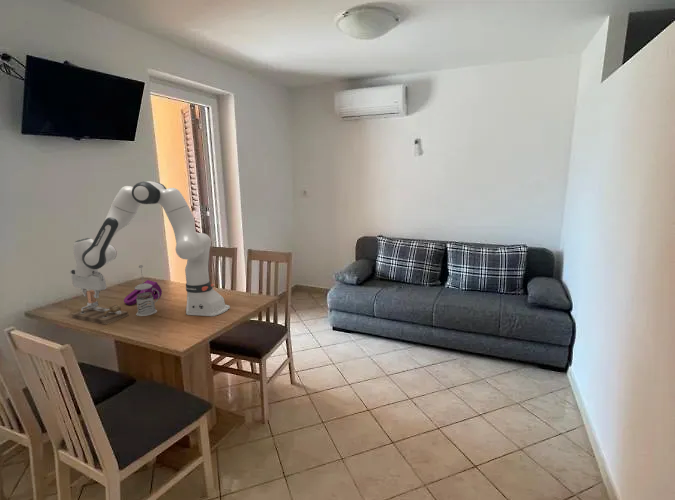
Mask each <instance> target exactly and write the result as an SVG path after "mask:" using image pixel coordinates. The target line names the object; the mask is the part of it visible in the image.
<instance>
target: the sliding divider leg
mask: <svg viewBox="0 0 675 500" xmlns="http://www.w3.org/2000/svg"><path fill="white" fill-rule="evenodd" d="M94 295H95V292H94V290H91V289H88V290H87V303H86V305H85V306H83V307H81V309H80V311H82V312H84V311H83V310H85V309H88V308H93V307H96V306H97V307H99V301H98V300H97V298H94Z"/></svg>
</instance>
